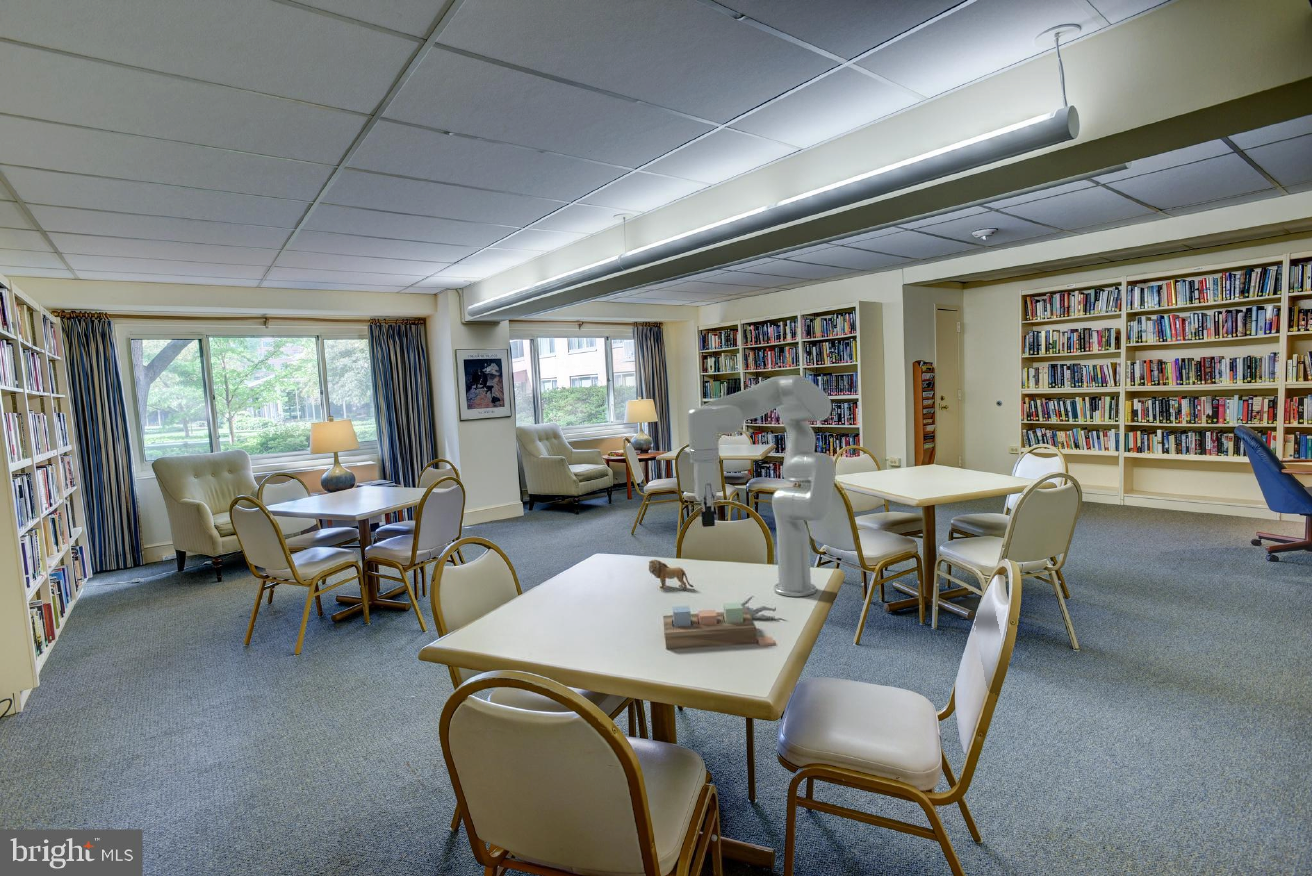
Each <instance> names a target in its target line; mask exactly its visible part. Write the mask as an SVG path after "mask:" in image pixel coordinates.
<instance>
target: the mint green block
mask: <svg viewBox="0 0 1312 876" xmlns="http://www.w3.org/2000/svg"><path fill="white" fill-rule="evenodd" d="M740 603H741V602H728V603H723V612H724V622H725V624H727V623H742V622H743V608H742V606H741V604H740Z"/></svg>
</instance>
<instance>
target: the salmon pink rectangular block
mask: <svg viewBox="0 0 1312 876" xmlns="http://www.w3.org/2000/svg"><path fill="white" fill-rule="evenodd" d="M716 612H717V611H716V610H715V609H709V610H708V609H705V610H698V613H697V614H699V625H711V624H717V614H716Z"/></svg>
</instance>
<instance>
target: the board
mask: <svg viewBox="0 0 1312 876" xmlns="http://www.w3.org/2000/svg"><path fill="white" fill-rule="evenodd" d="M715 612H716V614H717V624H711V625H699V614H698V613H691V626H681V627H674V624H673V614H672V615H671V614H670V615H667V614H666V615H663V616H662V617H663V633H664V641H665V649H666V650H668V649H669V650H671V649H672V650H673V649H686V648H689V649H690V648H700V647H715V646H716V647H718V646H719V647H720V646H732V645H733V646H734V645H746V644H748V645H749V644H757V643H758V641H757V626H756V624H755V622H754V621H753V618H751V616H750V615H749V613H748V611H747V610H744V611H743V622H742V623H727V624H725V622H724V611H715Z"/></svg>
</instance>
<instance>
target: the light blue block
mask: <svg viewBox="0 0 1312 876" xmlns="http://www.w3.org/2000/svg"><path fill="white" fill-rule="evenodd" d="M691 614H692V612H691V609H690V605H681V606H672V615H673V624H674V627H681V626H691Z"/></svg>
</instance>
